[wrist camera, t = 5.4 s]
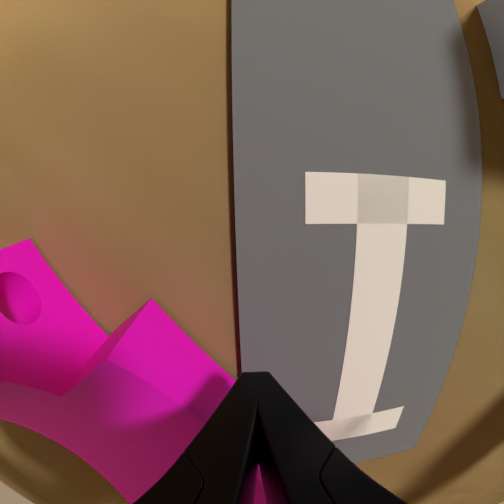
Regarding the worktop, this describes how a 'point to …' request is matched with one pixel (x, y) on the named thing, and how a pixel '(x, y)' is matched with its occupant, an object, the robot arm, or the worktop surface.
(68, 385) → the toy block
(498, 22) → the slate blue cube
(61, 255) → the worktop surface
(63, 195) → the worktop surface
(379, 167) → the letter mat
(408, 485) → the worktop surface
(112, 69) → the worktop surface
